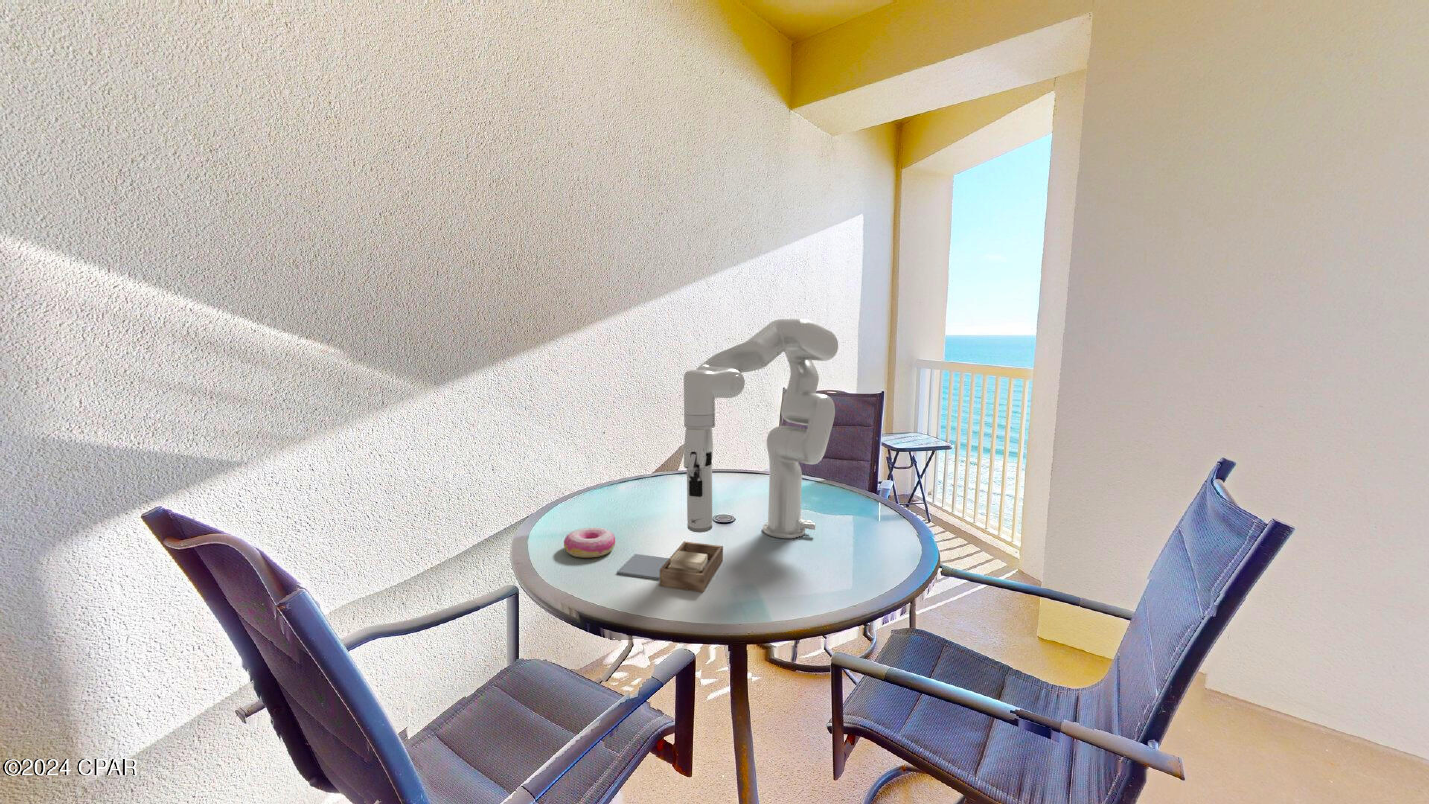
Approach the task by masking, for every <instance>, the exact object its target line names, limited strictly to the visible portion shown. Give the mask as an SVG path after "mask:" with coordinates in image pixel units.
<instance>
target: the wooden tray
mask: <svg viewBox="0 0 1429 804" xmlns="http://www.w3.org/2000/svg"><path fill="white" fill-rule="evenodd" d="M677 551H684V552H693V553H701V554H708V558H707V561H709V562H707V564H706V565H705V569H704V570H703V572H702V573H693V572H686V571H678V570H671V569H668V566H669V565H670V559H671V558H672V556H673V555H674V554H675V553H676V552H677ZM723 562H724V546H723V545H719V544H718V545H717V544H709V543H708V544H707V543H701V542H700V543H699V542H692V541H691V542H690V541H683V542H682V543H681V544H680V546H678V548H677V549H676V550H675V551H674V552H673V553H672V554H671V556H670V557H669V559H668V561H667V562H666V563H665V564H664V565H663V566H662V567H661V569H660V580H659V587H664V588H671V589H677V590H678V589H679V590H687V591H691V592H692V591H693V592H699V593H700V592H701V593H704V592H705V591H706V589H707V587H708V586H709V584H710V582H711V581H712V580H713V577H714V576H715V574H716V573H717V571H718V569H719V568H720V566H721V564H722V563H723Z"/></svg>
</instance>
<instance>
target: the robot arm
mask: <svg viewBox="0 0 1429 804" xmlns="http://www.w3.org/2000/svg"><path fill="white" fill-rule="evenodd" d="M838 350H839V340H838V338H837V336H836V335H835V333H833V332H832V331H831V330H829V329H827V328H825V327H823V326H821V325H819V324H818V323H815V322H812V321H811V320H808V319H803V318H781V319H775V320H772V321H771V322H769V323H768V324H767V325H766V326H764V327H763V328H762V329H760V330H759V331H758V332H756V333H755V334H754V335H753V336H751V337H750V338H749V339H748V340H746V341H743V342H742V343H739V344H736V345H734V346H732V347H730V348H727V349H725V350H722V351H720V352H717V353H715V354H714V355H712V356H711V357H709V358H708V359H706V360H705V361H703V363H701V364H700V365H699V366H698V367H697V368H696V369H689V370H687V371H685V372H684V374H683V427H684V428H685V432H684V444H683V467H684V469H687V468H688V473H689V495H690V496H695V497H701V496H702V480H701V474H702V469H703V468H704V467H705V465H706V459H707V456H706V453H710V452H712V458H713V454H714V449H713V447H714V445H713V444H714V441H713V428H715V427H716V412H715V411H716V406H715V405H716V403H715V402H716V399H733V398H736V397H738V396H739V395H740V394H741V393H742V392H743V391H744V389H745V385H746V382H745V381H746V379H745V377H744V375H743V374H742V373H749V372H754V371H758V370H762V369H764V368H766V367H767V366H768V365H769V364H771V363H772V362H773V361H774V360H775V359H777V357H779V356H780V355H781V354H782V353H783V352H784V354H785V358H786V359H787V361H788V365H789V368H790V369H789V370H790V371H789V372H790V375H789V379H788V383H787V384H788V385H787V388H786V391H785V394H784V398H783V400H782V401H783V402H782V405H781V413H780V414H781V416H782V418H783V420H785V421H786V422H789V423H793V424H796V425H797V424H798V425H803V426H807V428H800V427H795V426H789V425H779V426H778V425H777V426H775V427H773V428H772V429H771V430H770V431H769V433H768V434H767V437H766V449H767V455H768V463H769V475H768V476H769V480H768V481H769V482H768V483H769V484H768V510H767V512H768V515H767V518H768V519H767V522H765V523H764V524H763V525H762V531H763V532H764V534H766V535H767V536H770V537H774V538H777V539H795V538H796V537H797V538H800V537H802V536H804V535H805V534H804V533H806V530H811V531H812V530H813V531H815V530H816V523H815V522H813V521H812V520H805V519H804V518H803V514H801V512H802V508H801V507H802V483H803V475H802V473H803V472H802V468H801V465H800V463H801V464H807V465H817V464H818V463H819V462H821V461H822V459H823V457H824V456H825V454H826V450H827V448H828V443H829V439H830V437H831V436H830V435H831V433H832V428H833V426H834V425H833V424H834V421H835V416H836V408H835V407H836V406H835V403H834V401H833V398H831V396H829V395H827V394H824V393H817V390H818V385H819V381H820V377H819V373H818V370H817V368H816V366H815V364H814V361H821V362H826V361H827V362H828V361H830V360H832V359H833V358H834V357H835V356H836V355H837V353H838ZM712 460H713V459H712ZM712 460H711V461H712ZM712 462H713V461H712ZM695 465H700V466H699V468H696V467H695ZM695 470H697V471H698V474H697V472H695ZM799 536H800V537H799ZM797 538H796V539H797Z"/></svg>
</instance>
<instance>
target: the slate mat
mask: <svg viewBox="0 0 1429 804" xmlns="http://www.w3.org/2000/svg"><path fill="white" fill-rule="evenodd" d="M669 558H670V557H669ZM669 558H668V557H662V556H655V555H647V554H639V553H635V554H634V555H632V556H631V557H630V558H629V559H628V560H627V561H626V562H625V563H624V564H623V565H622V566H620V568H619V569H618V570H617V571H616V574H617V575H622V576H629V577H637V578H642V579H643V578H645V579H651V580H656V581H660V569H661V567H662V566H663V565H664V564H665V563H666V562H667V561H668V559H669Z"/></svg>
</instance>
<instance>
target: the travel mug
mask: <svg viewBox="0 0 1429 804" xmlns="http://www.w3.org/2000/svg"><path fill="white" fill-rule="evenodd" d="M706 456H707V459H706V465H705V467H704V468H703V469H702V474H701V480H702V496H701V497H695V496H690V495H689V473H688V468H686V506H687V507H686V509H687V511H686V512H687V515H686V516H687V517H686V520H687V524H686V525H687V529H688V531H690V532H691V533H692V532H693V533H699V534H700V533H707V532H710V531H711V530H712V528H713V461H711V460H713V457H712V452H710V453H706ZM699 466H700V465H695V467H696V468H699ZM695 472H697V474H698V471H697V470H695Z"/></svg>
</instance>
